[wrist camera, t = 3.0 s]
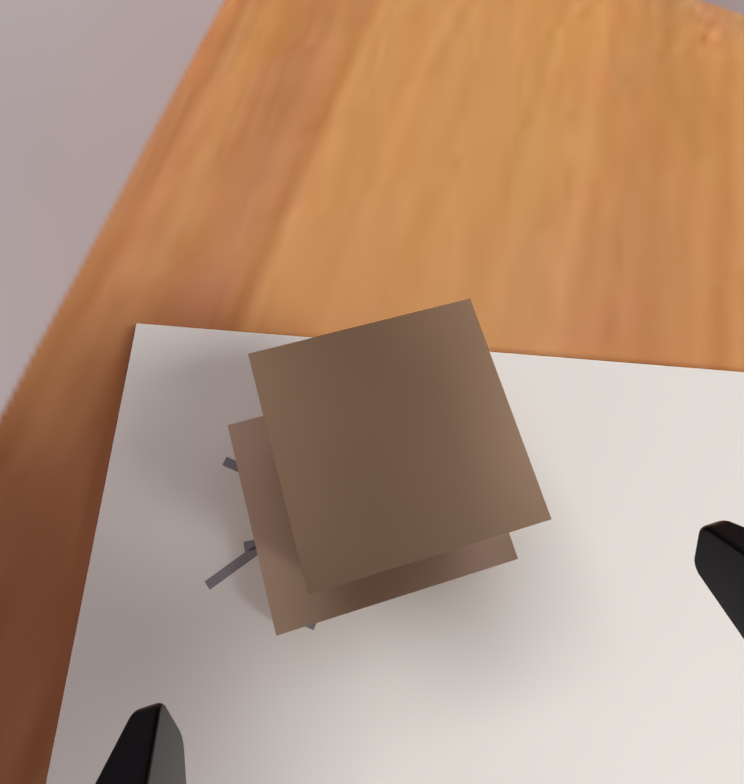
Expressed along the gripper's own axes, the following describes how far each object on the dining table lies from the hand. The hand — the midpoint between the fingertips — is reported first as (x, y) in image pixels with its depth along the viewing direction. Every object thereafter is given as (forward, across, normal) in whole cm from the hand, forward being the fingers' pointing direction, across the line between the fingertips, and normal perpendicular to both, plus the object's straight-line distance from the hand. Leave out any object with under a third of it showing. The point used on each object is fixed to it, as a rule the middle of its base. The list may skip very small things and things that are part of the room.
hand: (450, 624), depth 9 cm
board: (+6, -2, +9) cm, 11 cm away
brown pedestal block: (+8, 0, +4) cm, 9 cm away
